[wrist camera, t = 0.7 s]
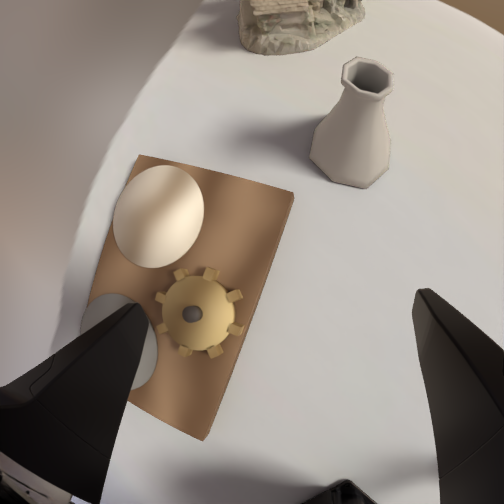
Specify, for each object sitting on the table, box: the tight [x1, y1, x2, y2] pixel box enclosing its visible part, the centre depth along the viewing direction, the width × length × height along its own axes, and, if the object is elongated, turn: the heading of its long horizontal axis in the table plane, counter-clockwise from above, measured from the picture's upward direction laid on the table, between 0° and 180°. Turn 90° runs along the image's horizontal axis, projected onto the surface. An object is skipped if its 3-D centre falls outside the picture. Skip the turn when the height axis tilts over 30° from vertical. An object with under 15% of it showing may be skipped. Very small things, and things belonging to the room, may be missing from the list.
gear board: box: [80, 155, 294, 441], centre depth 23 cm, size 15×22×4 cm
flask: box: [309, 57, 394, 189], centre depth 18 cm, size 7×7×10 cm
